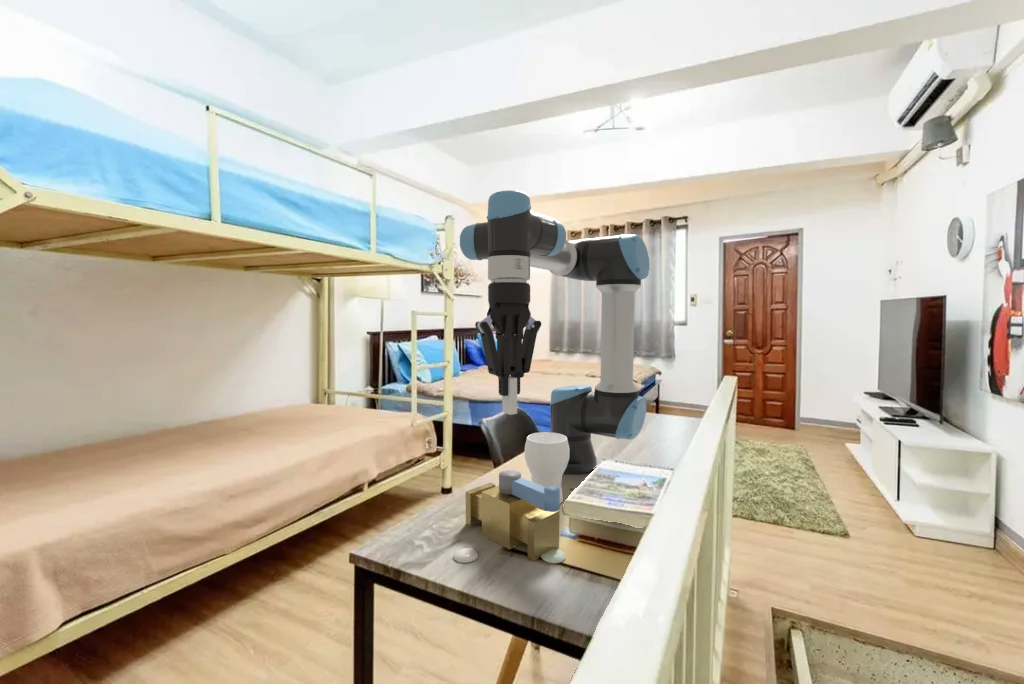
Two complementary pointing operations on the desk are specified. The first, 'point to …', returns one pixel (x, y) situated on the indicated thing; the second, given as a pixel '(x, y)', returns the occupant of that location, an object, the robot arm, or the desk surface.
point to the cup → (547, 458)
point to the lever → (529, 490)
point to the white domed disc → (465, 555)
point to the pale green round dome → (553, 556)
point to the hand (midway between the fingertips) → (509, 412)
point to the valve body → (512, 520)
